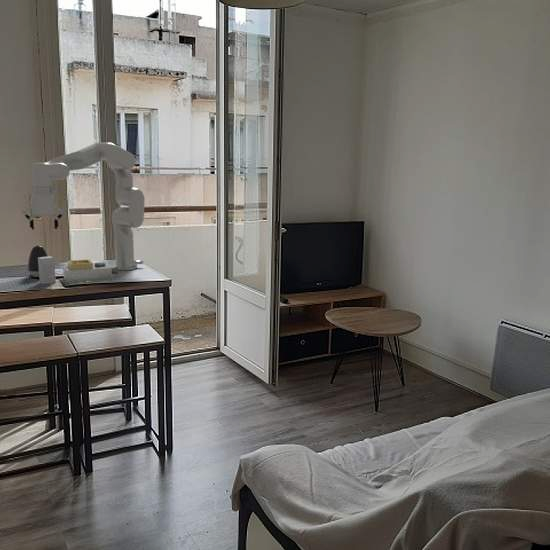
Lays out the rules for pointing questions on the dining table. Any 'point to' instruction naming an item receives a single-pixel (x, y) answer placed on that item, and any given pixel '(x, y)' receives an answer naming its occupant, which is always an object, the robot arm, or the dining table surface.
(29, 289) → the dining table surface
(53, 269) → the skincare box
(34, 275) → the smart speaker
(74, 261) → the gearbox
